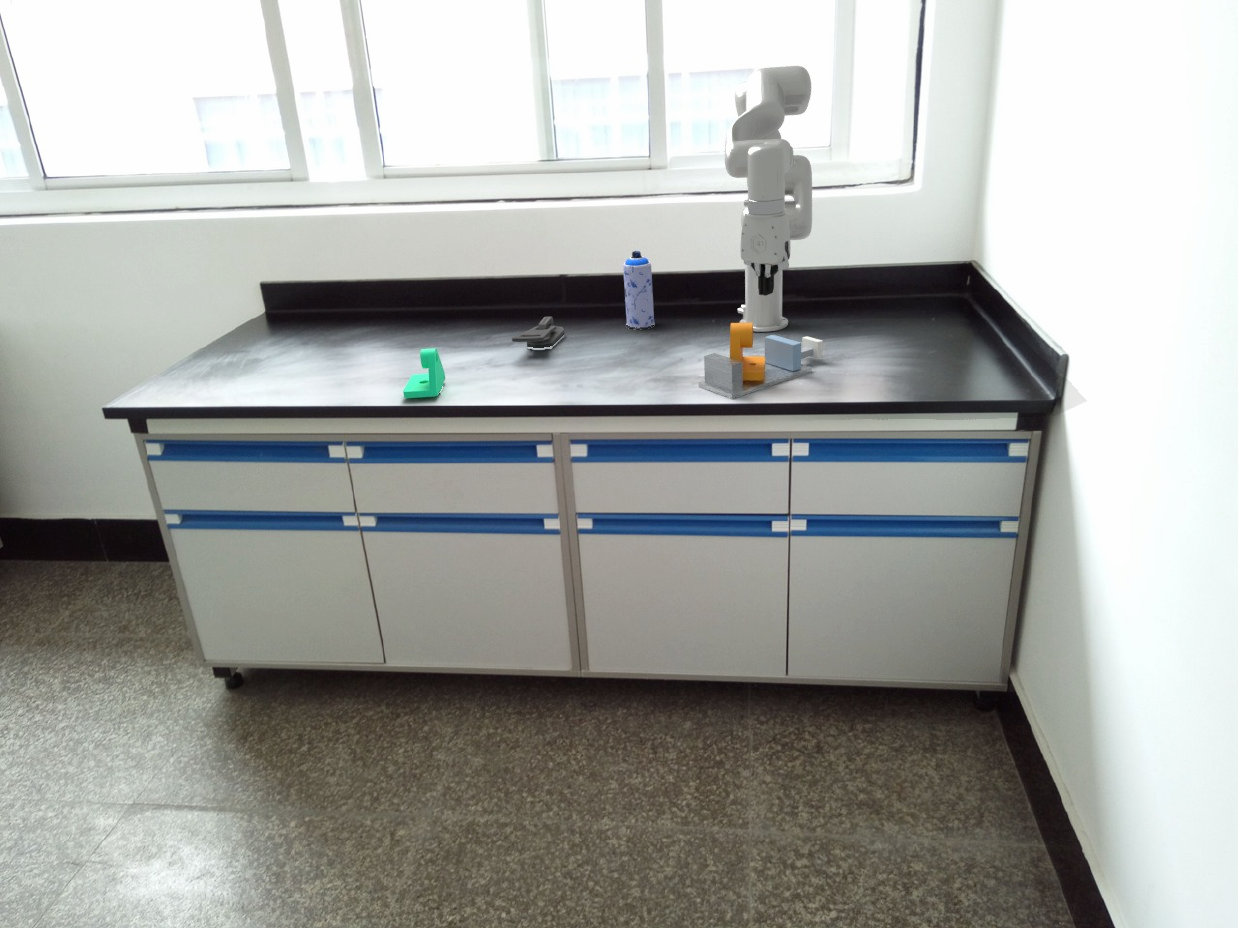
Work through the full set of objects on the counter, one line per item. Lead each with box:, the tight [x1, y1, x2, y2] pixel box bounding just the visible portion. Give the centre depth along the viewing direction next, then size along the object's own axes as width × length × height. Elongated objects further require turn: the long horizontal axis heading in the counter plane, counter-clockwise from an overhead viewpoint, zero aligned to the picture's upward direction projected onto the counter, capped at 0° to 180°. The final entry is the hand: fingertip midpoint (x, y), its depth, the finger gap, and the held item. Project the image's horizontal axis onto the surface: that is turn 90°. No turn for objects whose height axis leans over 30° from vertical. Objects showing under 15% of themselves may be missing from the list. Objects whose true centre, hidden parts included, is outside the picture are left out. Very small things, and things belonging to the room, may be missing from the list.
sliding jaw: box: [764, 334, 824, 371], centre depth 207 cm, size 9×12×6 cm
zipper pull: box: [511, 316, 566, 348], centre depth 233 cm, size 9×7×25 cm
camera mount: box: [402, 348, 446, 399], centre depth 207 cm, size 12×8×10 cm, turn 1°
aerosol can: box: [622, 250, 656, 328], centre depth 243 cm, size 8×8×20 cm
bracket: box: [729, 322, 765, 380], centre depth 199 cm, size 11×7×12 cm, turn 169°
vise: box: [698, 352, 813, 399], centre depth 201 cm, size 11×24×7 cm, turn 125°
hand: (766, 293), depth 196 cm, fingers closed
